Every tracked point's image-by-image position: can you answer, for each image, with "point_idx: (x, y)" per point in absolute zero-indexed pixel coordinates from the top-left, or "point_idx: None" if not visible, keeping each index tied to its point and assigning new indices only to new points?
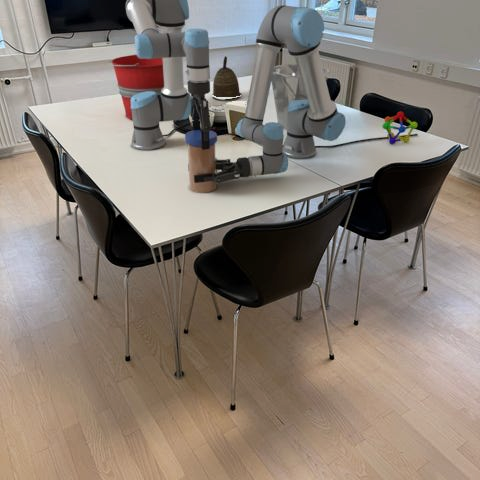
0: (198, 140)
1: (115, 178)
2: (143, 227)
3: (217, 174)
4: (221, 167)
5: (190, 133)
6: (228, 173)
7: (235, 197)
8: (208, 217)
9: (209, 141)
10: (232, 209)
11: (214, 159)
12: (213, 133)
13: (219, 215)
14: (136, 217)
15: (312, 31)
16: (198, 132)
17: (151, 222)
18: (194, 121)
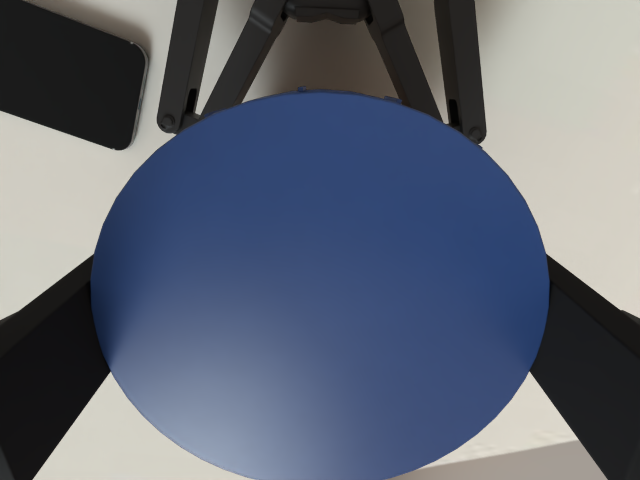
0: (505, 396)
1: (136, 466)
2: (556, 433)
3: (442, 120)
4: (274, 33)
5: (236, 429)
6: (461, 34)
7: (508, 31)
8: (623, 225)
9: (574, 275)
10: (621, 96)
11: None
12: (333, 146)
13: (636, 176)
14: (479, 442)
15: None
16: (219, 340)
17: (538, 410)
18: (14, 470)
